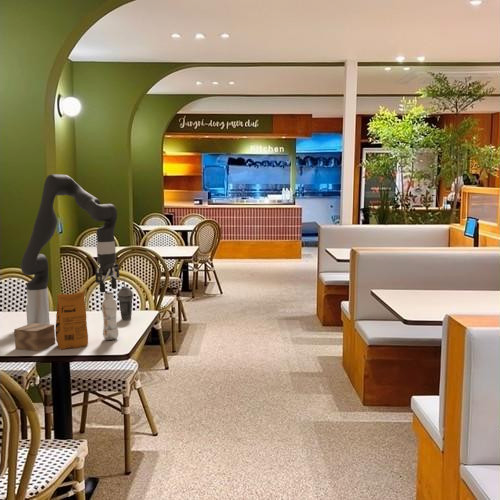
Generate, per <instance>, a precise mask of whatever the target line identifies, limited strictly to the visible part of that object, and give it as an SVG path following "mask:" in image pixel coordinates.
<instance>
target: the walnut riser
mask: <svg viewBox="0 0 500 500" xmlns="http://www.w3.org/2000/svg"><path fill="white" fill-rule="evenodd" d="M13 330H14V346H15V347H14V348H15V350H25V351H36V352H38V351H40V350H43V349H46V348H48V347H50V346H52V345H55V344H56V333H55V331H56V328H55V324H50V323H49V324H39V323H31V324H28V325H27V324H26V325H23V326H20V327H17V328H15V329H13Z"/></svg>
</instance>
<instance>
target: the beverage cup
mask: <svg viewBox="0 0 500 500" xmlns="http://www.w3.org/2000/svg"><path fill="white" fill-rule="evenodd" d="M122 279H123V287H121V288H120V289H119V290H118V292H117V298H118V302H119V303H118V304H119V311H120V316H121V317H120V318H121V320H122V321H130V320H131V319H132V314H133V313H132V310H133V297H134V294H133V291H132V289H131V288H129V287H127V286H126V283H125V277H123V278H122Z"/></svg>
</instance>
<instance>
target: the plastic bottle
mask: <svg viewBox="0 0 500 500" xmlns="http://www.w3.org/2000/svg"><path fill="white" fill-rule="evenodd" d="M103 298H104V300H103V301H102V303H101V311H102V318H103V329H102V330H103V331H102V337H103V338H104V340H106V341H113V340H116V339H117V338H118V337H119V334H120V333H119V332H120V331H119V328H118V323H117V309H118V308H117V307H118V305H117V302H116V301H115V299H114V293H113V292H111V291H110V292H104V293H103Z"/></svg>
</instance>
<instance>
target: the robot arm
mask: <svg viewBox="0 0 500 500" xmlns="http://www.w3.org/2000/svg"><path fill="white" fill-rule="evenodd" d="M42 189H43V190H42V195H41V201H40V204H39V208H38V211H37V214H36V218H35V221H34V224H33V228H32V232H31V235H30V239H29V241H28V244H27V247H26V248H25V251H24V253H23V256H22V258H21V262H20V270H21V271H22V273H23V275H26V276H33V278H32V279H31V280H30V281H27V283H26V297H27V304H26V305H25V309H26V311H25V312H26V323H27V324H26V325H28V324H31V323H39V324H50V306H49V294H48V293H49V292H48V291H49V289H48V284H49V283H48V282H49V262H48V261H49V260H48V259H47V257H46V255H45V254H44V253H41V250H42V249H43V248H44V247H45V245H47V244H48V242H49V241H50V240H51V239H52V237H54V234H55V232H56V229H57V225H58V218H57V214H56V211H55V209H54V204H55V203H54V202H55V198H56V197H57V196H69V197H71V198H73V199H74V201H75V203H76V205H77V206H78V207H80V208H81V209H82V210H83V211H85V212H87V214H88V215H89V217H90V218H91V219H92V220H93V221H96V222H104V223H103V225H102V226H100V227H98V228H97V229H96V257H97V264H98V265H100V266H99V267H96V268H95V271H94V272H95V274H94V275H95V283H97V284H99V292H100V293H103V294H104V293H106V281H107V279H109V278H110V284H111V289H117V287H118V286H117V285H118V284H117V280H118V278H120V265H119V263H117V255H116V254H117V251H116V242H115V228H116V224H117V218H118V210H117V207H116V206H115V205H114V204H112V203H103V204H101V201H100V199H99V198H97V197H95V196H94V195H92V194H91V193H90V192H87V191H86V190H85V189H83V187H81V185H79V183H77V182H76V181H75V180H74V179H73V178H72V177H71V176H69V175H67V174H62V173H61V174H60V173H58V174H57V173H55V174H53V173H52V174H49V175H47V177H46V178H45V181H44V184H43V188H42ZM108 277H109V278H108Z"/></svg>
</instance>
